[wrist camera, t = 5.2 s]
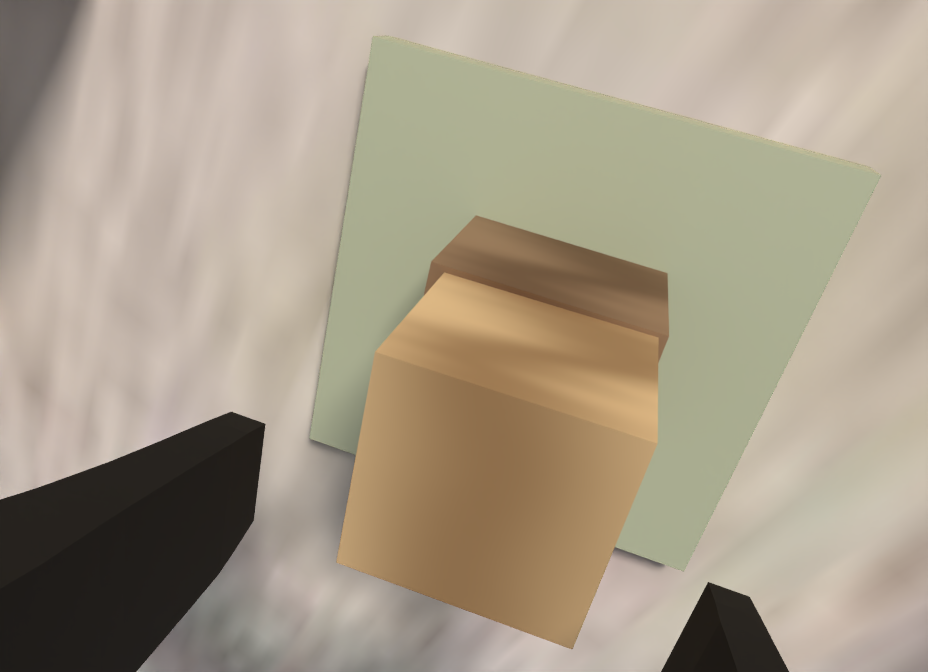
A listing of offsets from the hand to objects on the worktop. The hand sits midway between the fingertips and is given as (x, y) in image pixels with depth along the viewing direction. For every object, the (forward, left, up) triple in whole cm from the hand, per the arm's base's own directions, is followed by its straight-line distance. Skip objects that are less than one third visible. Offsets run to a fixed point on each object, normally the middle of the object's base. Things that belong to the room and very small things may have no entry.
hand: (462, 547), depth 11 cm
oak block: (0, 0, -5) cm, 5 cm away
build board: (0, 0, -10) cm, 10 cm away
